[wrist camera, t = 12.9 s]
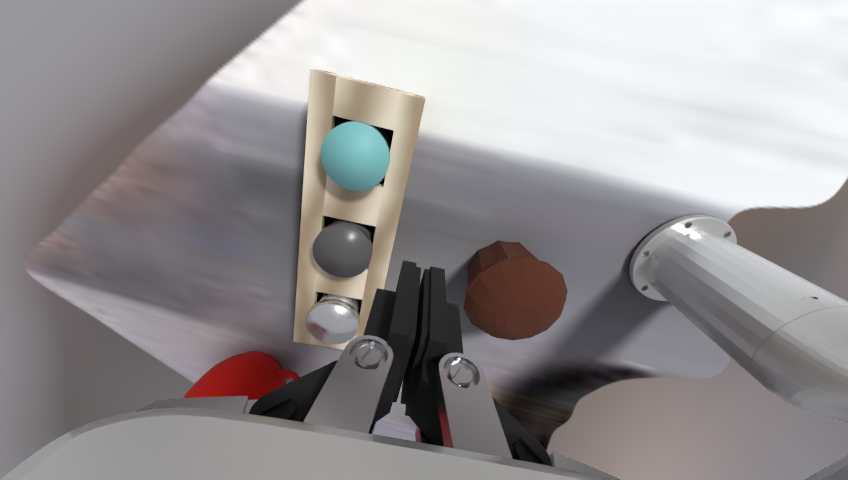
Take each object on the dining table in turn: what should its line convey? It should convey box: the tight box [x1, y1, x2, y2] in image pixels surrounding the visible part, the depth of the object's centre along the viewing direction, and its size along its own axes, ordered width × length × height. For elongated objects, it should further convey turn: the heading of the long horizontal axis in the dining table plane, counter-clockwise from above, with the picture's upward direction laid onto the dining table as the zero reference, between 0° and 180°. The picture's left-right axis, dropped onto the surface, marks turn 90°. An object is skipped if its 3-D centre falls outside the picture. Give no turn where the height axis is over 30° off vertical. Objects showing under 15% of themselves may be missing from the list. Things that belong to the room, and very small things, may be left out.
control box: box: [293, 70, 425, 350], centre depth 36 cm, size 10×32×5 cm, turn 167°
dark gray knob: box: [313, 218, 374, 278], centre depth 35 cm, size 6×6×6 cm
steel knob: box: [306, 293, 361, 344], centre depth 39 cm, size 6×6×6 cm
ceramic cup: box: [183, 351, 300, 400], centre depth 45 cm, size 13×17×10 cm
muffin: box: [464, 241, 567, 340], centre depth 37 cm, size 12×11×10 cm
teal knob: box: [321, 121, 390, 191], centre depth 30 cm, size 6×6×6 cm
